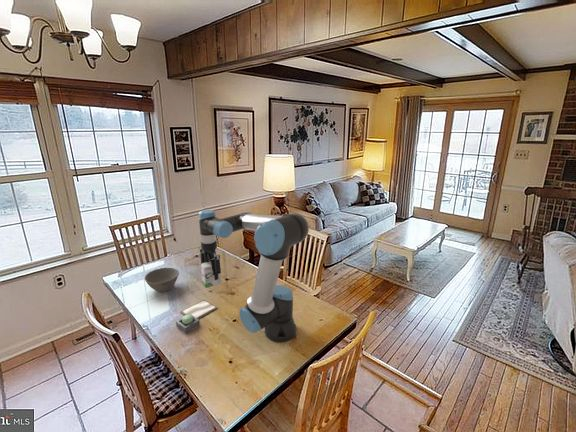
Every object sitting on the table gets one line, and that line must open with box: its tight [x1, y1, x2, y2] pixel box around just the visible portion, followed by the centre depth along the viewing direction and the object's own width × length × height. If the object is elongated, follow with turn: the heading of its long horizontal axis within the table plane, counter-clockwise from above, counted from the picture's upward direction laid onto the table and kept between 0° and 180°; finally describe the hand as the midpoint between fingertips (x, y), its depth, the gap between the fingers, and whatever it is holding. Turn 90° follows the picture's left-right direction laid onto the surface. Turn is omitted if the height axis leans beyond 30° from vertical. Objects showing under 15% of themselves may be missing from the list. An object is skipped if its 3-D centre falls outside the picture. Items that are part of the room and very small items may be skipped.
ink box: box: [200, 262, 222, 289], centre depth 152 cm, size 8×5×12 cm, turn 123°
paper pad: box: [180, 299, 218, 320], centre depth 160 cm, size 12×15×1 cm
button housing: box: [175, 314, 201, 334], centre depth 147 cm, size 8×8×3 cm
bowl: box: [144, 267, 180, 292], centre depth 178 cm, size 19×19×10 cm
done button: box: [181, 315, 193, 326], centre depth 147 cm, size 5×5×3 cm
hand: (211, 282), depth 154 cm, fingers closed on ink box, 6 cm apart
